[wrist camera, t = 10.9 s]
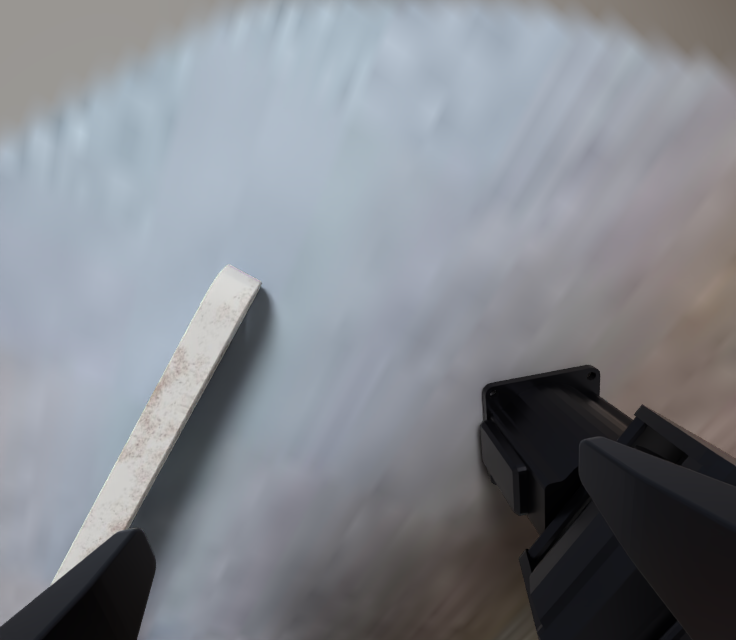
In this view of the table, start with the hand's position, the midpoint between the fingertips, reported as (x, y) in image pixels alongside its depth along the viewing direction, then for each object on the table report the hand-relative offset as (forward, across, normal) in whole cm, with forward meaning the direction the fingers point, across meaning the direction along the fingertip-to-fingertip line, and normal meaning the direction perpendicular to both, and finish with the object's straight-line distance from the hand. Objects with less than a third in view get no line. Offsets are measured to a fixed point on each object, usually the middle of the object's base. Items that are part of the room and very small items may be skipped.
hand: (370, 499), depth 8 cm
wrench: (+12, +14, +8) cm, 20 cm away
